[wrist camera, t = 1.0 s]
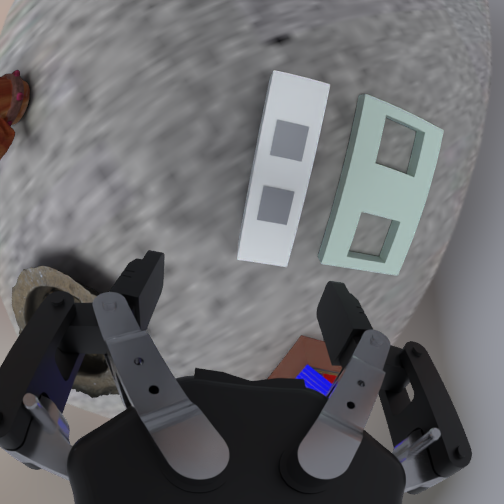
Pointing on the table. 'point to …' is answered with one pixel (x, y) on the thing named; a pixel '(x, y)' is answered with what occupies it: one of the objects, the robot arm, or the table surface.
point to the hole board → (380, 188)
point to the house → (308, 365)
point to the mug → (11, 106)
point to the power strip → (281, 167)
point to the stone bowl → (50, 280)
